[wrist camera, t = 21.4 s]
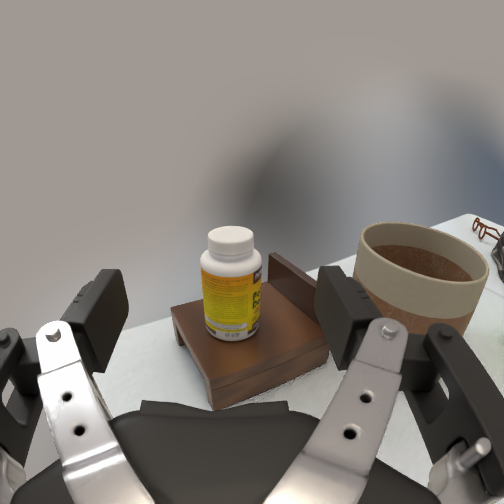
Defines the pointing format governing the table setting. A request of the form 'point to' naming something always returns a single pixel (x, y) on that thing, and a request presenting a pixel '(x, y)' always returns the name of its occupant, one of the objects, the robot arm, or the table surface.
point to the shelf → (258, 339)
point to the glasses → (485, 229)
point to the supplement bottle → (231, 283)
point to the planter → (420, 275)
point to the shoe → (499, 255)
